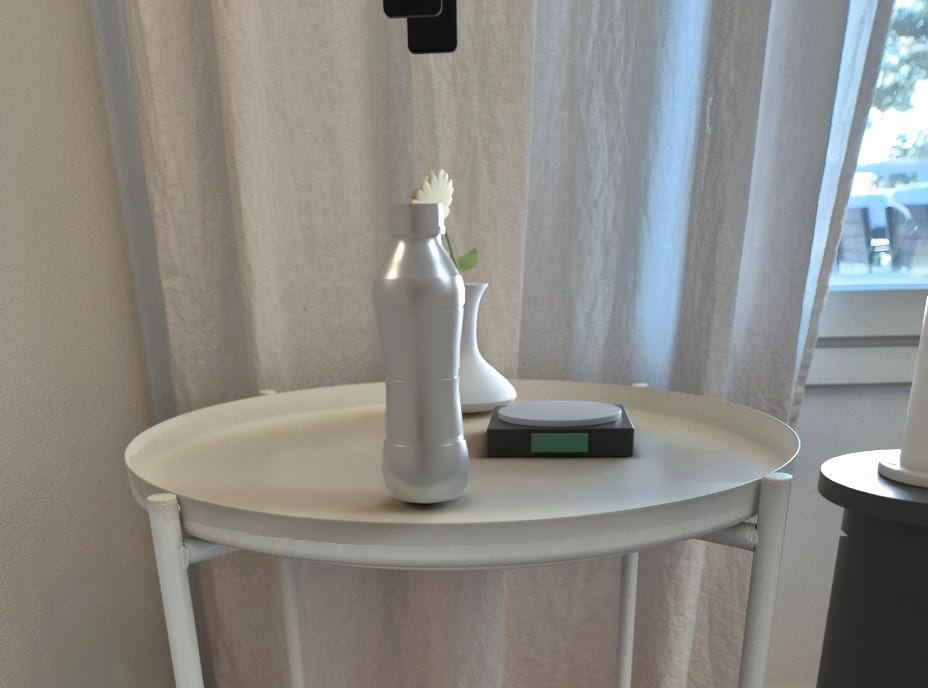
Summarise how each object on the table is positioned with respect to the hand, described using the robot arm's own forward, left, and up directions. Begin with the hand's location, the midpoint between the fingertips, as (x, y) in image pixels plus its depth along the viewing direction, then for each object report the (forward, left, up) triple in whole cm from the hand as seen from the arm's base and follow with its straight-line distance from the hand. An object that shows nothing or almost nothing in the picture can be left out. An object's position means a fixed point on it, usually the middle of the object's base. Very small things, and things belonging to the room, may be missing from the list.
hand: (423, 35), depth 53 cm
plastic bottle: (+1, -2, -29) cm, 29 cm away
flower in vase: (+2, -42, -29) cm, 51 cm away
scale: (-9, -24, -29) cm, 39 cm away
